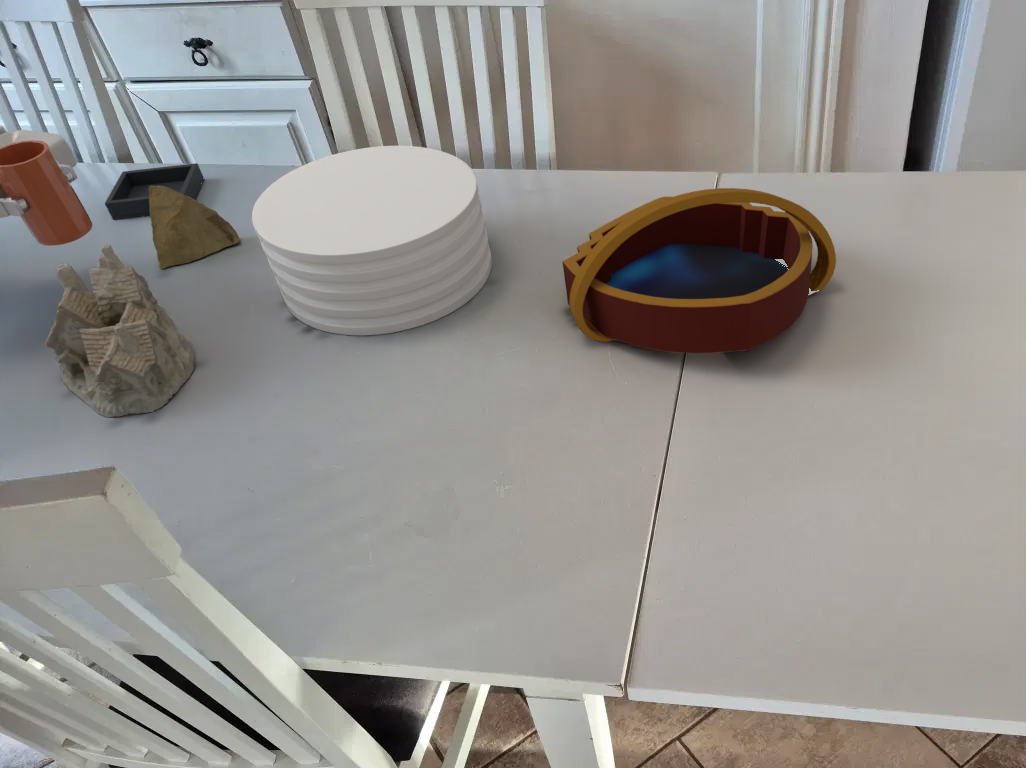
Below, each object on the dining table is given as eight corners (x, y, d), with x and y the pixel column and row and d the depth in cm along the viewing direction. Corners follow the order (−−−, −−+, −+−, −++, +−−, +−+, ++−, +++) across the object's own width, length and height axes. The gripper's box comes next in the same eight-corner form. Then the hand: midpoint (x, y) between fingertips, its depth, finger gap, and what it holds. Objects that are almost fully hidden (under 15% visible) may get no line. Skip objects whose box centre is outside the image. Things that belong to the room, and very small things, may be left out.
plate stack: (472, 206, 126) (457, 131, 118) (510, 307, 108) (495, 226, 99) (281, 243, 121) (251, 167, 113) (286, 356, 103) (251, 274, 94)
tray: (113, 219, 128) (104, 203, 126) (130, 187, 135) (122, 171, 133) (191, 210, 129) (183, 194, 127) (204, 179, 136) (197, 163, 134)
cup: (28, 248, 101) (-24, 169, 93) (47, 220, 105) (-1, 142, 98) (83, 243, 101) (36, 163, 94) (99, 215, 105) (55, 137, 98)
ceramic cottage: (87, 336, 107) (21, 234, 95) (216, 335, 107) (165, 233, 95) (31, 425, 97) (-51, 322, 85) (173, 424, 97) (110, 322, 85)
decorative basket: (790, 246, 119) (792, 137, 110) (882, 338, 97) (895, 211, 87) (556, 289, 115) (538, 180, 106) (596, 397, 92) (577, 269, 83)
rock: (247, 212, 123) (177, 206, 123) (222, 186, 115) (147, 179, 114) (238, 283, 122) (167, 277, 121) (213, 262, 113) (137, 255, 113)
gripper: (-139, 196, 92) (-40, 209, 90) (2, 118, 106) (93, 126, 103) (-101, 247, 97) (-5, 261, 94) (31, 166, 110) (118, 175, 108)
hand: (47, 190), depth 99 cm, fingers closed on cup, 6 cm apart
